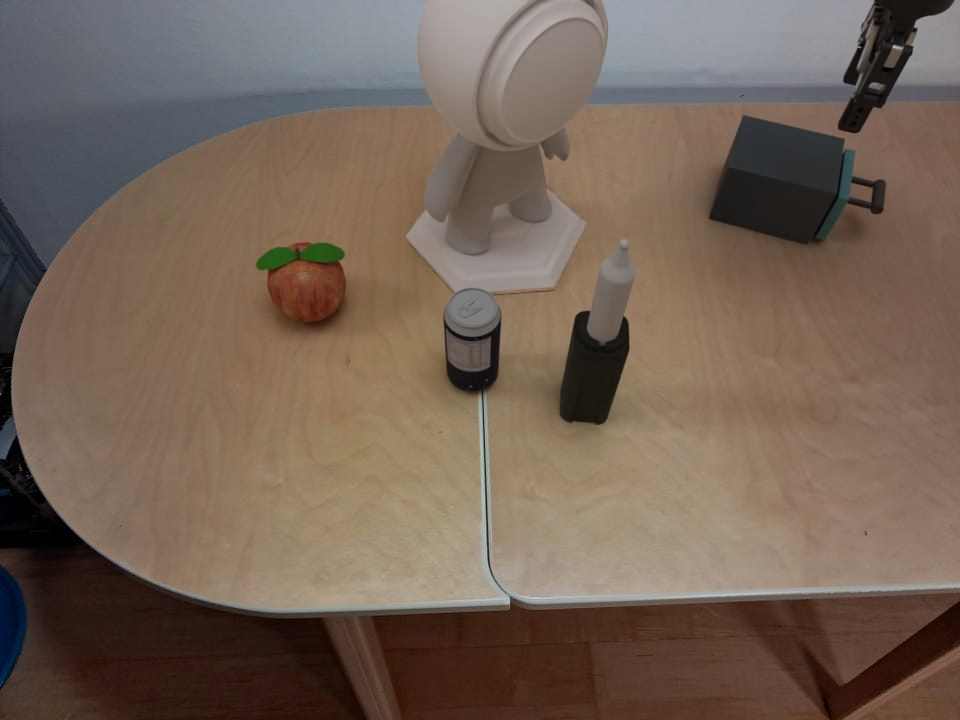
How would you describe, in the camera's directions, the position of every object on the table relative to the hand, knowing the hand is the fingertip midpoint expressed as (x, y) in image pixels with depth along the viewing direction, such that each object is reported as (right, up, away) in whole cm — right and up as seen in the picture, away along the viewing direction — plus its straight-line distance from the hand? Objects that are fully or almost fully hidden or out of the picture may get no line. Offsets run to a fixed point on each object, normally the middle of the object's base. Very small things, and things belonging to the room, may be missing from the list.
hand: (849, 105), depth 73 cm
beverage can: (-40, -28, +4) cm, 49 cm away
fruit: (-58, -20, +9) cm, 63 cm away
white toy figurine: (-37, -11, +16) cm, 41 cm away
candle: (-28, -31, +2) cm, 42 cm away
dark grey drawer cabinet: (-1, -6, +19) cm, 20 cm away
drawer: (+3, -7, +18) cm, 19 cm away
